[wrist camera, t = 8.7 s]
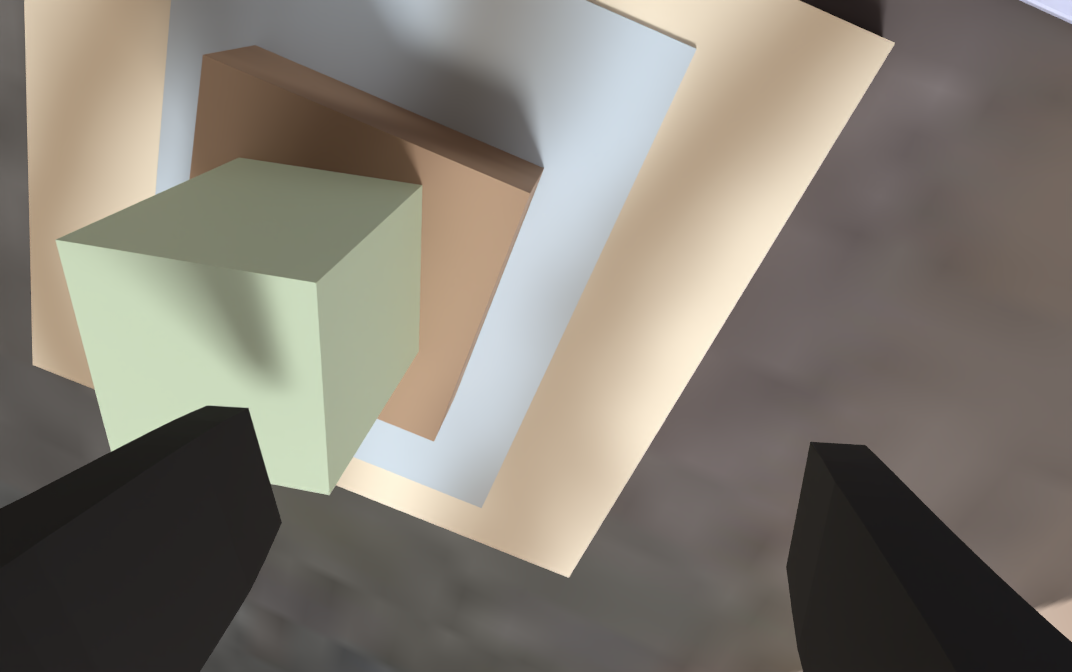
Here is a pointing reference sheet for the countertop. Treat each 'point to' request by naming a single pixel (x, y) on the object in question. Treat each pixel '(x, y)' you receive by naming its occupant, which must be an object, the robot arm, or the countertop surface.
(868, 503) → the robot arm
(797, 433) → the countertop surface
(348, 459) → the green block
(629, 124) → the build board
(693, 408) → the countertop surface
